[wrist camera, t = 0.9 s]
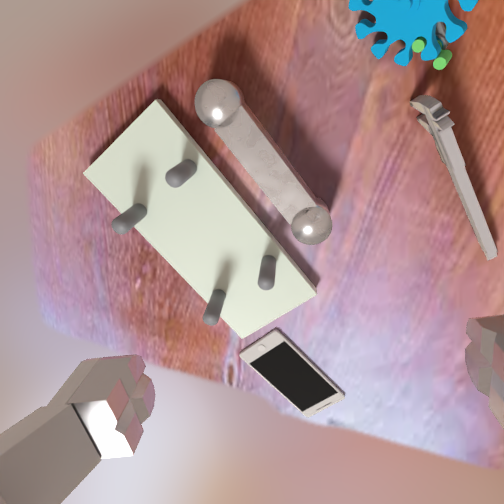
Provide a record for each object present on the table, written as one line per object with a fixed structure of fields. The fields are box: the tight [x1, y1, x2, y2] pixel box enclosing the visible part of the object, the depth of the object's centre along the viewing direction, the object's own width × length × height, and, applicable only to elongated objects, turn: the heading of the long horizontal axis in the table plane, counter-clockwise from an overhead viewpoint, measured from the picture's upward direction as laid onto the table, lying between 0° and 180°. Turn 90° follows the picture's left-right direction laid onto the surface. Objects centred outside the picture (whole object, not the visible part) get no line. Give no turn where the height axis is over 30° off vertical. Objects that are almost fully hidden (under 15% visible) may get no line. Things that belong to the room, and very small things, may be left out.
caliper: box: [410, 95, 498, 260], centre depth 34 cm, size 20×1×6 cm, turn 36°
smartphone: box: [240, 329, 345, 417], centre depth 50 cm, size 7×16×1 cm, turn 43°
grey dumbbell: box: [195, 79, 332, 245], centre depth 36 cm, size 4×19×4 cm, turn 39°
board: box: [83, 99, 317, 339], centre depth 39 cm, size 12×28×6 cm, turn 39°
